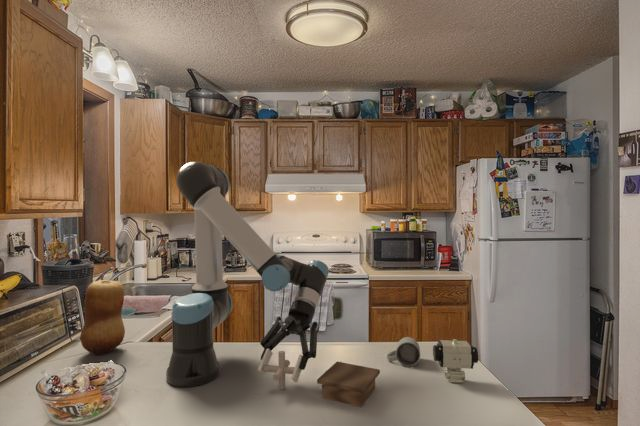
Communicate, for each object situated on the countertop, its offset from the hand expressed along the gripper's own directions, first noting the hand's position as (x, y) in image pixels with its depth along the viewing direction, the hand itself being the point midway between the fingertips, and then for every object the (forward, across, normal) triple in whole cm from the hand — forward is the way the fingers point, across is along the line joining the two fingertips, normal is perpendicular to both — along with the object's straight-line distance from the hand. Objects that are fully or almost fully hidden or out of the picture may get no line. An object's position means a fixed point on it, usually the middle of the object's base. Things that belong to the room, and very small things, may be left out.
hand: (277, 376), depth 103 cm
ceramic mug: (-22, -26, -28) cm, 44 cm away
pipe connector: (+1, 0, -5) cm, 5 cm away
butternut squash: (+5, +70, -1) cm, 70 cm away
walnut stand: (-3, -18, -9) cm, 20 cm away
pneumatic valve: (-16, -43, -23) cm, 51 cm away
